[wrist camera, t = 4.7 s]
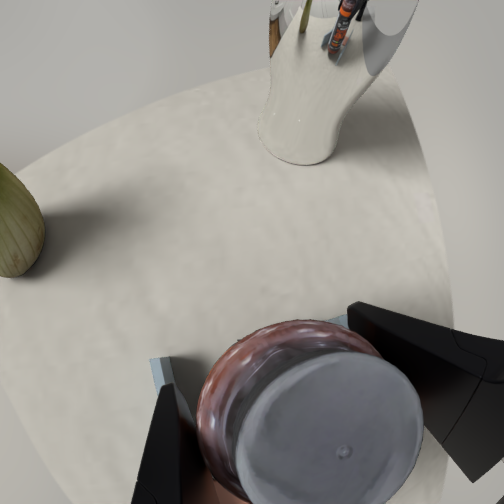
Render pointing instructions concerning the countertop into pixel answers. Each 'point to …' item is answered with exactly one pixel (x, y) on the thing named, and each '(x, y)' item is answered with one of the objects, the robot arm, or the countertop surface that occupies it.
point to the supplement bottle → (308, 418)
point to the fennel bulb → (18, 226)
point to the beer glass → (324, 69)
